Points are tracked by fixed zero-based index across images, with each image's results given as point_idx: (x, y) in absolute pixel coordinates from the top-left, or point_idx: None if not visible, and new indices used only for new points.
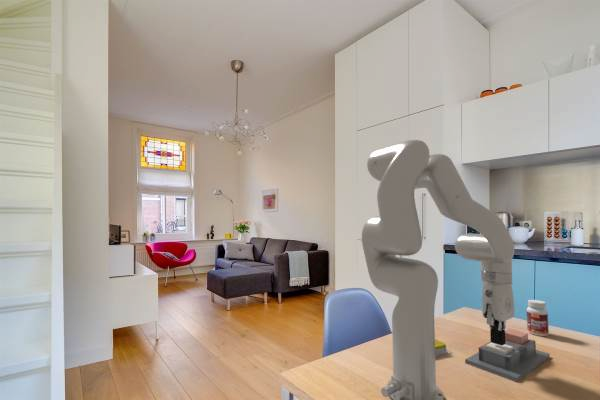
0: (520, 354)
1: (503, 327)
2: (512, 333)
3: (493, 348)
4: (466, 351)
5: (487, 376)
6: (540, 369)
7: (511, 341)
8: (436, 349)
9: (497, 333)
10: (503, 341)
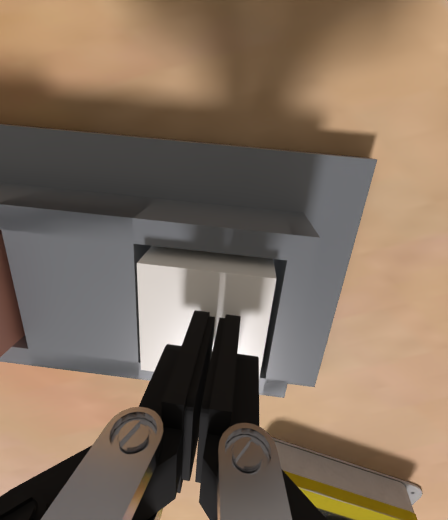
0: (126, 209)
1: (162, 441)
2: None
3: (264, 342)
4: None
5: (395, 277)
6: (95, 106)
7: (6, 296)
8: (328, 483)
9: (258, 418)
10: (229, 330)
